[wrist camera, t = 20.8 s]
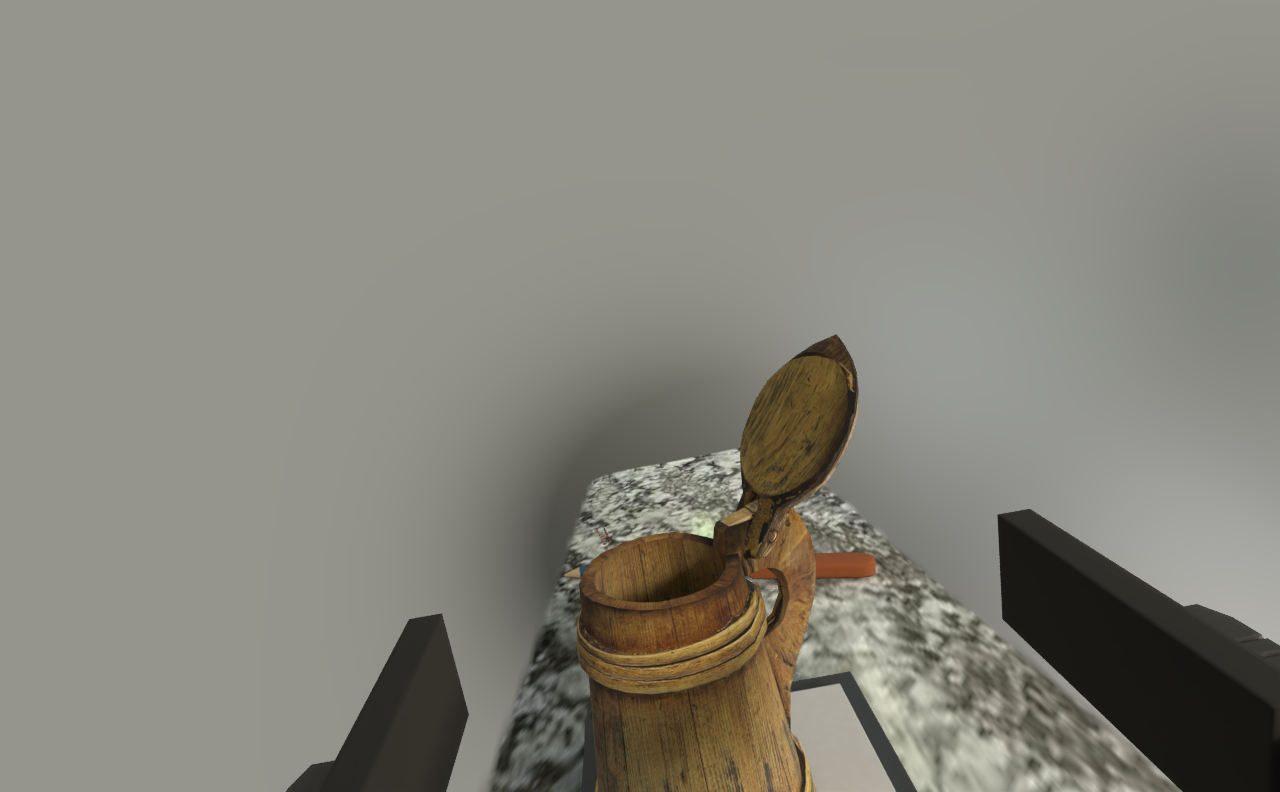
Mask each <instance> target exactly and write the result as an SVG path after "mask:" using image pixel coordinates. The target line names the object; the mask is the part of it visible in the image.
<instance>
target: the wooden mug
mask: <svg viewBox="0 0 1280 792" xmlns="http://www.w3.org/2000/svg"><path fill="white" fill-rule="evenodd" d="M857 411H858V382H857V372H856V369H855V366H854V363H853V360H852V358H851V356H850V354H849V352H848V351H847V349H846V347H845V345H844V344H843V342H842V341H841V340H840V338H839V337H838V336H837V335H834V336H831V337H829V338H827V339H825V340H822V341H820V342H818V343H815V344H813V345H812V346H810V347H809V348H808V349H806V350H804V351H802V352H801V353H799V354H798V355H796V356H795V357H794V358H793V359H791V360H790V361H789V362H788V363H786V364H785V365H784V366H783V367H782V368H780V369H779V370H778V371H777V372H776V373H775V374H774V375H773V376H772V377H771V378H770V379H769V380H768V381H767V383H766V384H765V385H764V387H763V389H762V390H761V392H760V393H759V395H758V397H757V398H756V400H755V403H754V405H753V407H752V410H751V412H750V415H749V418H748V420H747V423H746V426H745V429H744V431H743V435H742V442H741V449H740V463H741V477H742V487H743V494H742V497H741V499H740V502H739V504H738V507H737V510H736V512H734V513H733V514H731V515H729V516H727V517H725V518H723V519H721V520H719V521H717V522H716V524H715V527H714V537H713V539H711V538H708V537H703V536H699V535H694V534H688V533H678V532H670V533H662V534H655V535H650V536H645V537H640V538H637V539H634V540H632V541H629V542H626V543H623V544H620V545H618V546H616V547H614V548H612V549H610V550H608V551H606V552H603V553H601V554H600V555H599V556H598V557H597V558H596V559H594V560H593V561H592V562H591V564H590V565H589V567H588V568H587V569H586V571H585V572H584V574H583V576H582V579H581V581H580V584H579V586H580V597H581V608H582V609H581V611H580V615H579V618H578V622H577V655H578V658H579V661H580V665H581V667H582V669H583V670H584V671H585V672H586V673H587V674H588V676H589V683H590V695H591V707H592V719H593V732H594V744H595V757H596V769H597V780H596V787H595V792H816V788H815V785H814V781H813V778H812V774H811V771H810V767H809V763H808V760H807V758H806V755H805V753H804V750H803V748H802V746H801V743H800V741H799V740H798V738H797V737H796V736H795V735H794V734H793V733H792V732H791V683H792V679H793V674H794V670H795V666H796V661H797V658H798V655H799V652H800V648H801V645H802V642H803V638H804V635H805V632H806V628H807V625H808V621H809V616H810V612H811V608H812V604H813V599H814V595H815V574H816V560H815V555H814V550H813V545H812V540H811V537H810V535H809V532H808V530H807V528H806V526H805V524H804V522H803V520H802V518H801V517H800V516H799V515H798V513H797V512H796V511H795V510H794V508H793V507H794V506H795V505H797V504H798V503H800V502H801V501H803V500H805V499H807V498H809V497H810V496H811V495H812V494H813V493H815V492H816V491H817V490H818V489H819V488H820V487H821V486H823V485H824V484H825V483H826V482H827V481H828V479H829V478H830V476H831V475H832V473H833V472H834V471H835V469H836V468H837V466H838V465H839V463H840V460H841V459H842V457H843V455H844V453H845V451H846V449H847V446H848V444H849V441H850V439H851V436H852V433H853V430H854V427H855V423H856V420H857ZM763 568H767V569H768V570H770V571H771V572H773V574H774V575H775V576H776V577H777V581H778V588H779V594H778V596H777V599H776V602H775V605H774V608H773V611H772V613H771V614H770V615H769V617H768V618H767V619H766V611H765V604H764V601H763V598H762V594H761V591H760V589H759V587H758V586H757V585H755V584H753V583H752V582H750V581H748V580H747V579H745V576H747V575H749V574H752V573H754V572H756V571H758V570H760V569H763Z"/></svg>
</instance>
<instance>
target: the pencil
mask: <svg viewBox="0 0 1280 792" xmlns="http://www.w3.org/2000/svg"><path fill="white" fill-rule="evenodd" d="M588 567H589V565H585V566H581V567H578V568H576V569H574V570H572V571H570V572H568V573H566V574H564V575H561V577H577V578H582V576H583V574H584V572H585V571H586V569H587V568H588Z"/></svg>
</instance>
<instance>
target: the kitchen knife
mask: <svg viewBox="0 0 1280 792" xmlns="http://www.w3.org/2000/svg"><path fill="white" fill-rule="evenodd" d="M814 555H815V560H816V574H815V578H855V577H869V576H872V575H874V573H875V559H874V557H873V556H872V555H870V554H866V553H858V552H843V553H821V554H814ZM749 576H750V577H751V578H752V579H777V577H776V576H775V575H774V574H773V572H771V571H770V570H768V569H767V568H763V569H760V570H758V571H756V572H754V573H752V574H749Z"/></svg>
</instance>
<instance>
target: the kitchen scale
mask: <svg viewBox="0 0 1280 792" xmlns="http://www.w3.org/2000/svg"><path fill="white" fill-rule="evenodd" d="M791 732H792V733H793V734H794V735H795V736H796V737H797V738H798V740H799V741H800V743H801V746H802V748H803V750H804V753H805V755H806V758H807V760H808V763H809V767H810V771H811V774H812V778H813V781H814V785H815V788H816V792H917V790H916V789H915V787H914V785H913V783H912V781H911V780H910V778H909V776H908V774H907V772H906V771H905V769H904V767H903V765H902V763H901V762H900V760H899V758H898V756H897V754H896V753H895V751H894V749H893V747H892V746H891V744H890V742H889V740H888V738H887V737H886V735H885V733H884V731H883V729H882V728H881V726H880V724H879V722H878V720H877V719H876V717H875V715H874V713H873V711H872V710H871V708H870V706H869V704H868V703H867V701H866V699H865V697H864V695H863V694H862V692H861V690H860V688H859V686H858V685H857V683H856V681H855V679H854V677H853V676H852V674H851V672H844V673H839V674H833V675H828V676H822V677H817V678H812V679H806V680H801V681H795V682H792V683H791ZM596 780H597V769H596V757H595V744H594V732H593V719H586V722H585V741H584V759H583V778H582V792H595V787H596Z"/></svg>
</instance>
